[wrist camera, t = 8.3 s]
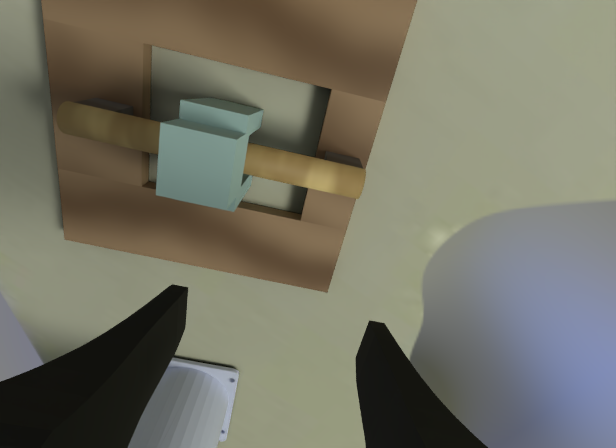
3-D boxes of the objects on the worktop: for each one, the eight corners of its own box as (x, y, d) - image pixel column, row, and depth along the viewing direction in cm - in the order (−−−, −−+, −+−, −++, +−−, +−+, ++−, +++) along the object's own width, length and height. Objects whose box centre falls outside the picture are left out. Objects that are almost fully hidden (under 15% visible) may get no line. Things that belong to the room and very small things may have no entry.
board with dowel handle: (326, 283, 25) (328, 325, 21) (74, 232, 24) (27, 266, 20) (413, -2, 17) (440, -19, 14) (46, -101, 16) (-40, -151, 12)
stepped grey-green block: (250, 185, 21) (224, 227, 15) (202, 175, 21) (154, 212, 15) (263, 109, 20) (240, 119, 13) (211, 97, 20) (161, 101, 13)
